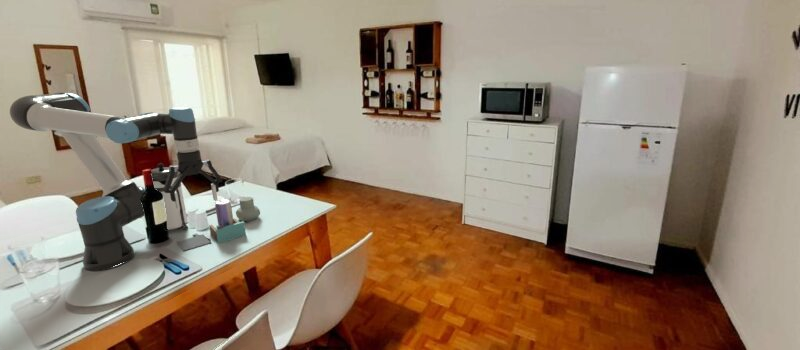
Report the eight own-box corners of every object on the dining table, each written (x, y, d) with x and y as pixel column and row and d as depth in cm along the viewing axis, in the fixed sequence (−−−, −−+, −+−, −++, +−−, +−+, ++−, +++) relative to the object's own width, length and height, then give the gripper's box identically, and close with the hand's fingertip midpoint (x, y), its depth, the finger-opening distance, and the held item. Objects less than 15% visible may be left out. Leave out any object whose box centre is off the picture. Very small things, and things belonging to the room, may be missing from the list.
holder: (217, 240, 153) (216, 232, 152) (210, 233, 160) (209, 225, 158) (243, 233, 160) (242, 224, 159) (235, 226, 166) (234, 218, 165)
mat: (183, 251, 145) (183, 250, 145) (177, 242, 152) (176, 241, 152) (210, 243, 151) (210, 242, 151) (203, 235, 158) (203, 234, 158)
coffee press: (201, 222, 171) (190, 159, 162) (171, 237, 156) (157, 169, 147) (172, 217, 176) (160, 156, 167) (140, 232, 161) (125, 165, 152)
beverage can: (223, 238, 155) (218, 205, 151) (217, 234, 159) (212, 201, 155) (237, 233, 159) (232, 201, 155) (231, 229, 163) (226, 197, 159)
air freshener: (234, 218, 175) (232, 198, 172) (251, 213, 181) (249, 193, 178) (245, 224, 168) (243, 204, 165) (262, 219, 174) (260, 199, 171)
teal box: (219, 243, 151) (216, 227, 149) (217, 241, 152) (215, 226, 150) (246, 235, 158) (244, 219, 156) (244, 233, 159) (242, 218, 157)
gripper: (151, 157, 125) (163, 215, 132) (226, 146, 141) (233, 198, 148) (146, 153, 131) (158, 209, 137) (219, 143, 147) (227, 194, 153)
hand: (197, 204), depth 142 cm, fingers open, 12 cm apart
